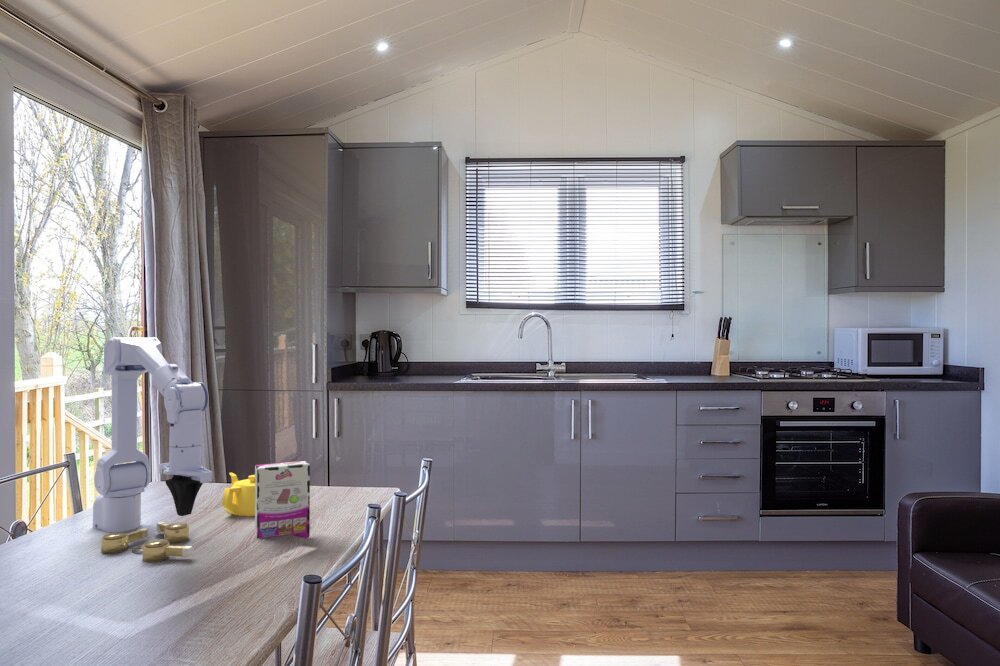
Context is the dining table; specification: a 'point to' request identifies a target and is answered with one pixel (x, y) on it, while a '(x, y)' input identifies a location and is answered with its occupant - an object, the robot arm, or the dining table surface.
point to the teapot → (240, 496)
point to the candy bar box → (282, 499)
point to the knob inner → (120, 540)
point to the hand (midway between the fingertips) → (184, 514)
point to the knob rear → (174, 531)
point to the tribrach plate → (138, 549)
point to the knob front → (163, 550)
